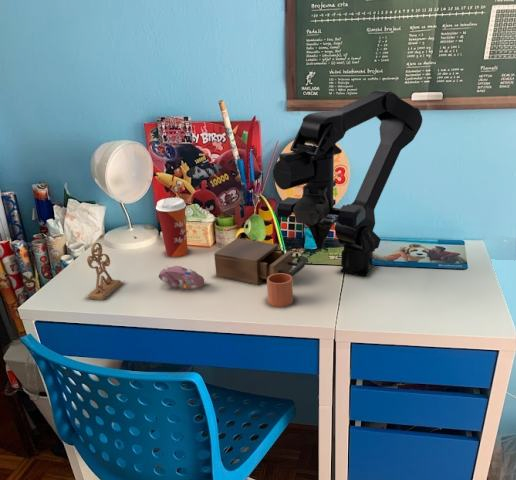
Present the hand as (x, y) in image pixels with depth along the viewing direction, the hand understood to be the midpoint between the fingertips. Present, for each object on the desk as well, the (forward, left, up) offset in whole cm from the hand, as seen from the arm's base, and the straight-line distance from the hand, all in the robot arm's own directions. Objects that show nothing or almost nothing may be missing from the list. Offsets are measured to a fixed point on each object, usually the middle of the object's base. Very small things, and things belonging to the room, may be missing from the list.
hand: (319, 248), depth 131 cm
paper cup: (+43, -3, -9) cm, 44 cm away
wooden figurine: (+45, +23, -9) cm, 51 cm away
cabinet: (+19, 0, -9) cm, 21 cm away
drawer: (+12, 0, -8) cm, 15 cm away
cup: (+5, +11, -9) cm, 15 cm away
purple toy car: (+29, +14, -9) cm, 34 cm away
